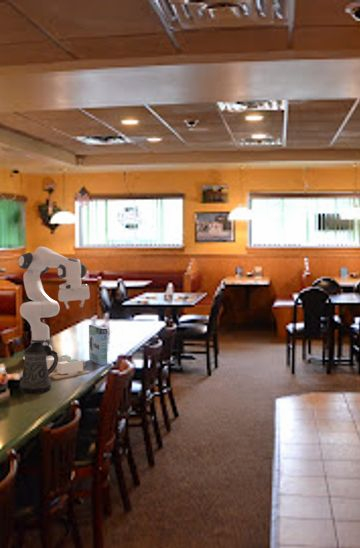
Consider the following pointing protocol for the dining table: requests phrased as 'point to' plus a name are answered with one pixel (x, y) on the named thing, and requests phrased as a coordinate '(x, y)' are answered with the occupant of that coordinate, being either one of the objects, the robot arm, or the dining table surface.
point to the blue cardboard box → (98, 344)
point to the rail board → (66, 368)
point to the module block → (63, 358)
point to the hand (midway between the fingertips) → (74, 307)
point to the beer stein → (37, 369)
